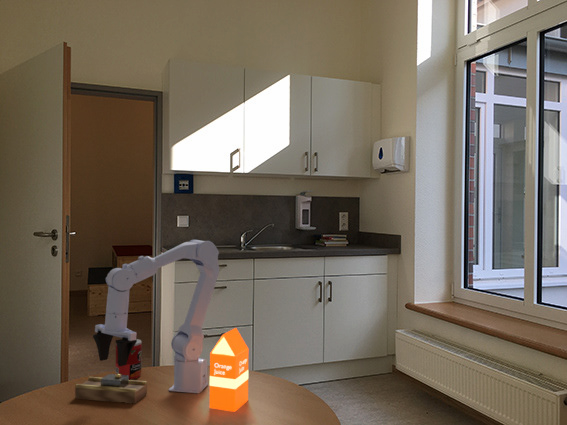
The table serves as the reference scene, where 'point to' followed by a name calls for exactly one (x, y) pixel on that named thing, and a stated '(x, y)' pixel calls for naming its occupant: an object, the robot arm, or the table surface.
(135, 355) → the canned food
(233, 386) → the orange juice
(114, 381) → the grey block with knob
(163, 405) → the table surface
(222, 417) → the table surface
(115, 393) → the wooden channel tray
